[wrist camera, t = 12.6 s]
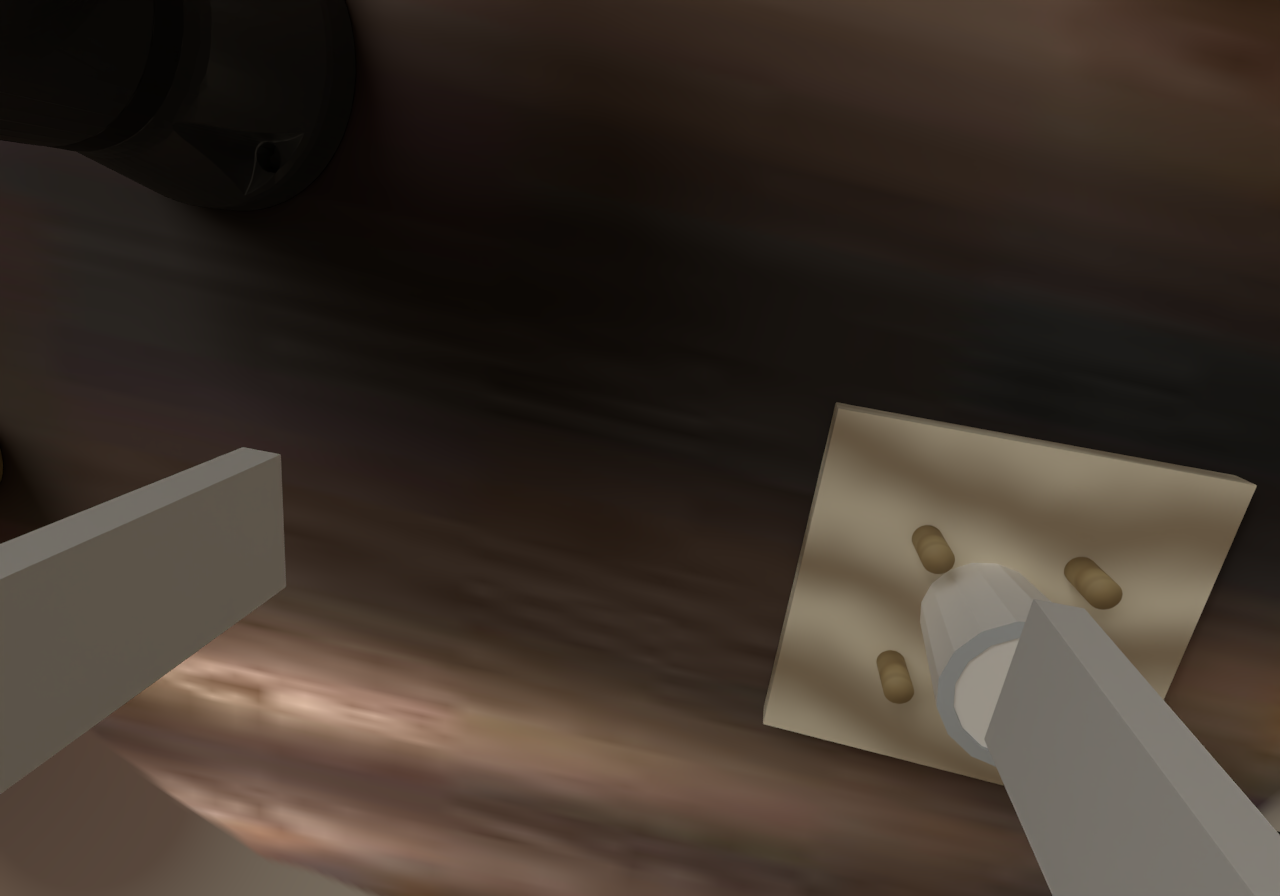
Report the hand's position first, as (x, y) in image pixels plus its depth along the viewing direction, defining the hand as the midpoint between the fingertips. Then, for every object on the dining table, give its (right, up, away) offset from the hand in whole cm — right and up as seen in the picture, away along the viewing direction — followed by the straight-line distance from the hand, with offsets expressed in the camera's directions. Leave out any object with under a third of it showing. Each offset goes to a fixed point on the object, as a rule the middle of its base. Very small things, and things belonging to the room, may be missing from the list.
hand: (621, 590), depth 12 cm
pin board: (+17, -6, +23) cm, 30 cm away
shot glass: (+17, -6, +22) cm, 28 cm away
